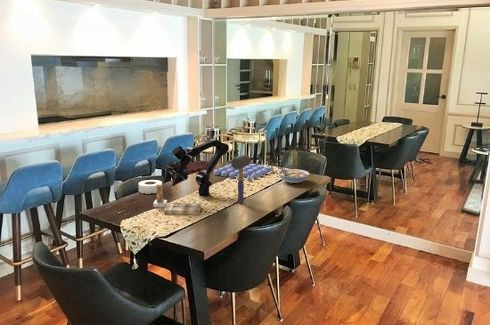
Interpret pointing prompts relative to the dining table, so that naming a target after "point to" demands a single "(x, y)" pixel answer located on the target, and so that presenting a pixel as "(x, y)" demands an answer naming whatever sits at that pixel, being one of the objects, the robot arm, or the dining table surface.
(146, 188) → the roll of tape
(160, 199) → the awl
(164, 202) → the awl holder
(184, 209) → the beige flat rectangular piece
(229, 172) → the purple egg tray
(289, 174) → the ramen bowl
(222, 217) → the dining table surface
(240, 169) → the rubber mallet
